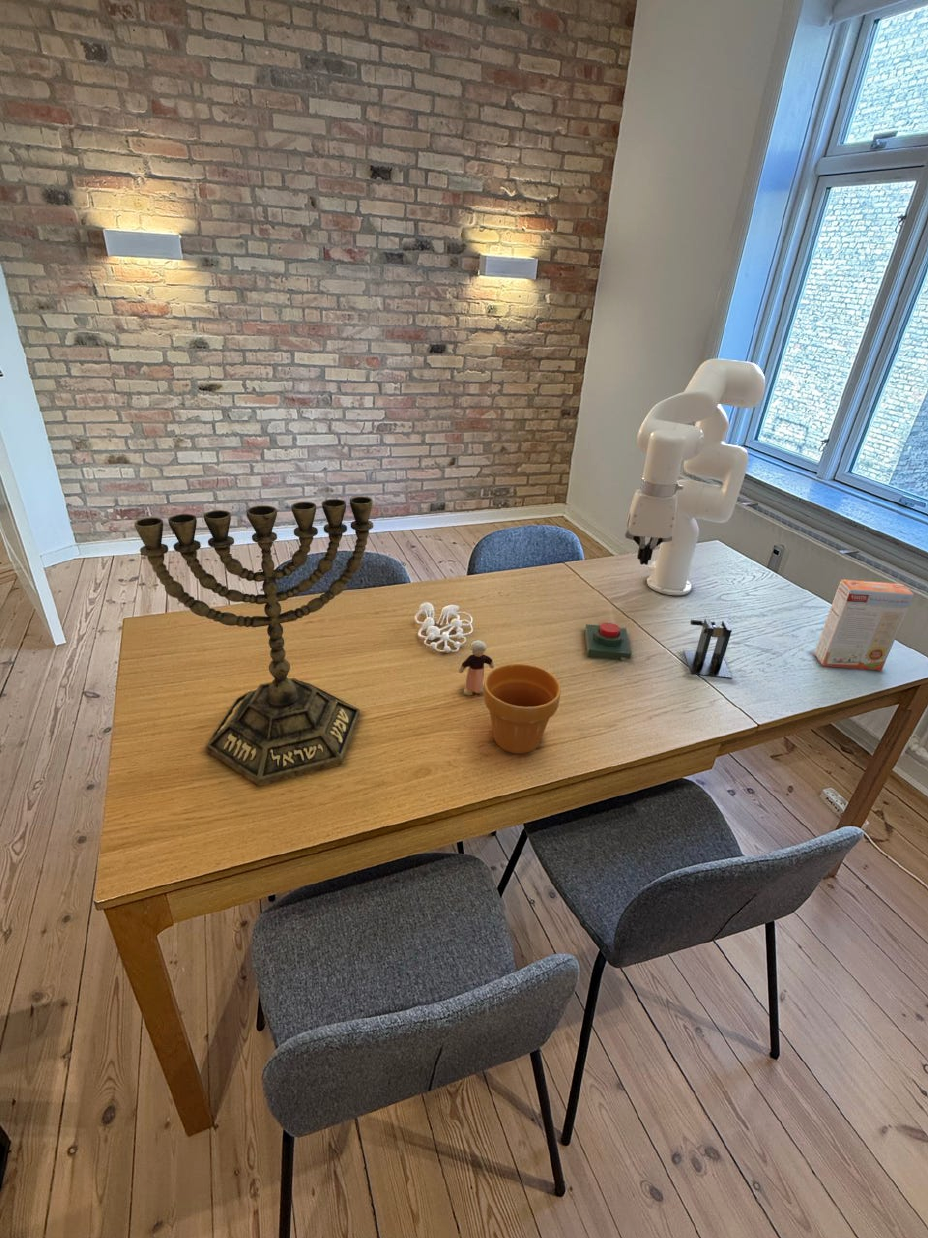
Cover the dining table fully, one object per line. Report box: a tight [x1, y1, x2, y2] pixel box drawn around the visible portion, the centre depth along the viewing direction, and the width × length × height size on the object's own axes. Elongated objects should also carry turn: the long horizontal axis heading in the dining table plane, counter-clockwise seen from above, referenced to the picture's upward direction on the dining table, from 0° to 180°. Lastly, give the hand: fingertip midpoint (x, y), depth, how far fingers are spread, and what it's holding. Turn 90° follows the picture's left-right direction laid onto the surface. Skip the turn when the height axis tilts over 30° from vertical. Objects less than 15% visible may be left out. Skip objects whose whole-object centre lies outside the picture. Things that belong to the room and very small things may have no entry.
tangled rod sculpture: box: [414, 602, 474, 654], centre depth 157 cm, size 19×14×4 cm
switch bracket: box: [683, 618, 733, 680], centre depth 147 cm, size 10×9×12 cm
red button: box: [599, 622, 621, 638], centre depth 154 cm, size 5×5×2 cm
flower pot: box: [483, 663, 562, 754], centre depth 122 cm, size 14×14×13 cm
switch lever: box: [690, 619, 724, 639], centre depth 150 cm, size 13×6×2 cm, turn 173°
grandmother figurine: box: [458, 639, 495, 697], centre depth 135 cm, size 8×4×13 cm, turn 118°
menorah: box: [133, 496, 374, 787], centre depth 112 cm, size 36×25×45 cm
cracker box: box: [813, 579, 915, 672], centre depth 150 cm, size 14×6×21 cm, turn 84°
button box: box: [584, 624, 632, 661], centre depth 156 cm, size 12×10×4 cm
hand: (643, 561), depth 152 cm, fingers closed
